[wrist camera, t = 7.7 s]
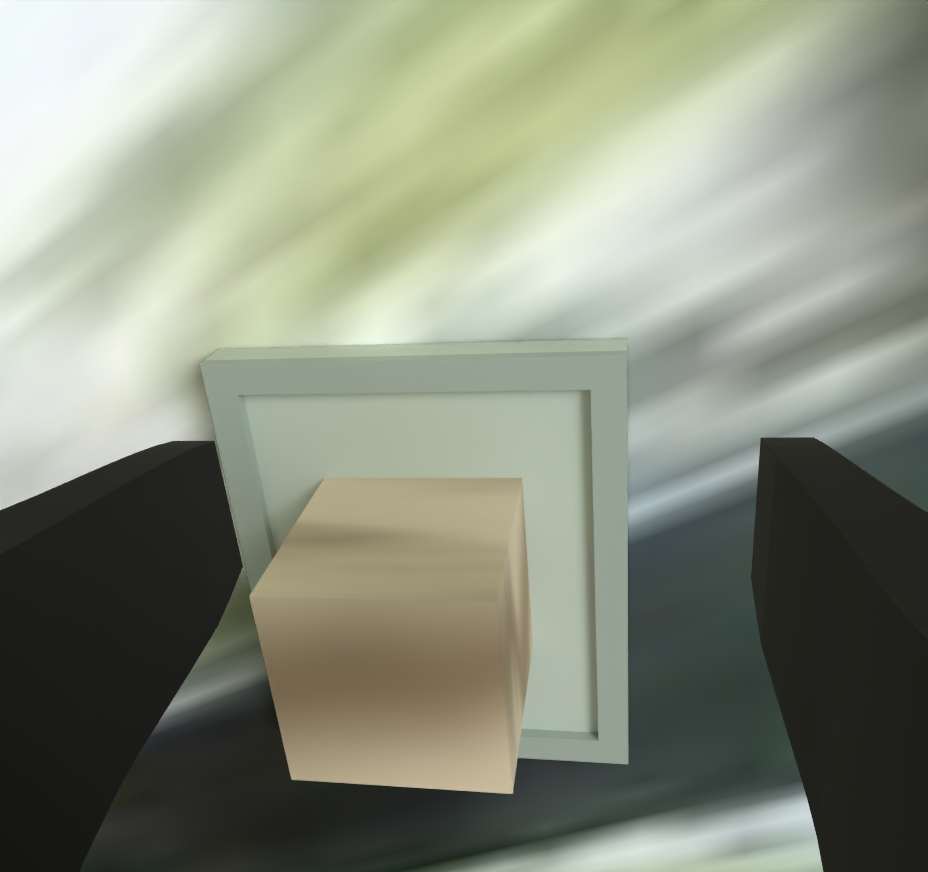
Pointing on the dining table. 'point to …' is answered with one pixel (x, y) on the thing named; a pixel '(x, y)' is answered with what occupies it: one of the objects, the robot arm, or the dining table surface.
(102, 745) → the robot arm
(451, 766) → the maple cube
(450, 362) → the grey green picture frame
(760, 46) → the dining table surface
